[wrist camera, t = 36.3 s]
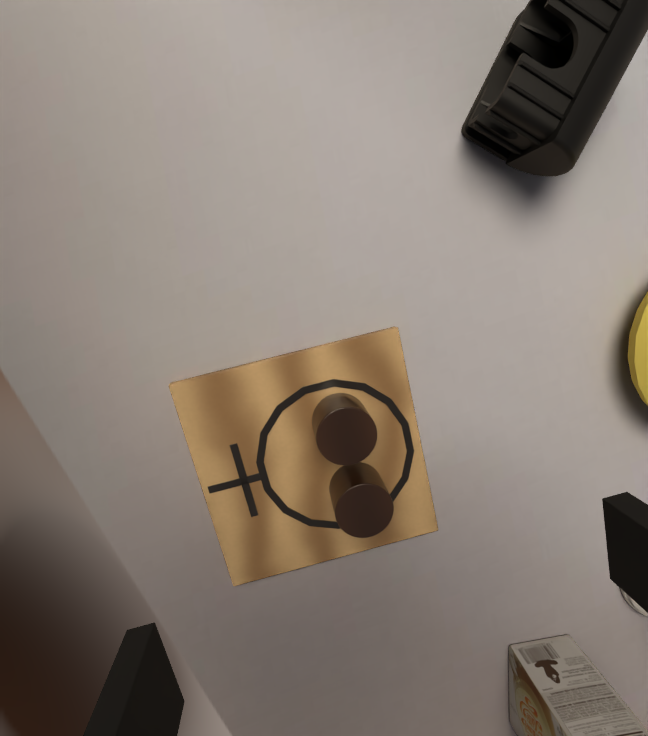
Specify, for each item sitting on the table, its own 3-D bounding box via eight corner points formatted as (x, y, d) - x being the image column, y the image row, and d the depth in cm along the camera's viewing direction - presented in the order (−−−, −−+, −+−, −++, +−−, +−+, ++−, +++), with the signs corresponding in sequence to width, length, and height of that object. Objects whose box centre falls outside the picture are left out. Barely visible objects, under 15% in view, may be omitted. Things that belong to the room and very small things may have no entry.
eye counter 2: (319, 451, 36) (324, 472, 32) (306, 400, 35) (309, 415, 31) (371, 437, 36) (383, 457, 32) (360, 386, 35) (370, 400, 31)
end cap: (533, 186, 34) (594, 165, 28) (455, 140, 33) (499, 106, 27) (601, 57, 33) (682, 3, 26) (522, 4, 32) (586, -67, 25)
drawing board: (234, 580, 39) (233, 587, 38) (170, 382, 35) (167, 385, 34) (435, 525, 39) (438, 531, 39) (395, 326, 35) (398, 327, 35)
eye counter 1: (335, 517, 37) (342, 545, 33) (323, 469, 36) (328, 492, 33) (386, 503, 38) (399, 529, 34) (375, 455, 37) (387, 476, 33)
